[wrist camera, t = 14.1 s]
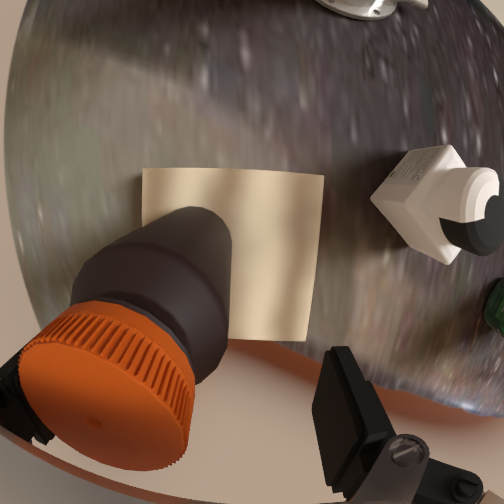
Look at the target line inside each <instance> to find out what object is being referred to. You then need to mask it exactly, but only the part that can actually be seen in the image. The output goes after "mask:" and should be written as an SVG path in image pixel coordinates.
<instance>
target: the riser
mask: <svg viewBox="0 0 504 504" xmlns="http://www.w3.org/2000/svg"><path fill="white" fill-rule="evenodd" d="M323 185H324V176H323V175H314V174H304V173H292V172H280V171H265V170H247V169H222V168H144V169H143V179H142V227H143V226H145V225H147V224H149V223H151V222H153V221H155V220H157V219H159V218H161V217H163V216H165V215H167V214H169V213H171V212H173V211H175V210H177V209H180V208H184V207H188V206H196V207H203V208H206V209H208V210H210V211H213V212H214V213H216V214H217V215H218V216H219V217H220V218H221V219H222V220H223V221H224V222H225V224H226V226H227V227H228V229H229V231H230V235H231V239H232V261H231V286H230V315H229V332H228V338H232V339H250V340H274V341H305V340H306V334H307V328H308V321H309V315H310V308H311V301H312V293H313V286H314V278H315V270H316V261H317V253H318V243H319V233H320V223H321V211H322V199H323Z"/></svg>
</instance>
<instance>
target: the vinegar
mask: <svg viewBox="0 0 504 504" xmlns="http://www.w3.org/2000/svg"><path fill="white" fill-rule="evenodd" d="M231 261H232V239H231V235H230V231H229V229H228V227H227V226H226V224H225V222H224V221H223V220H222V219H221V218H220V217H219V216H218V215H217V214H216V213H214V212H213V211H210V210H208V209H206V208H203V207H196V206H188V207H184V208H180V209H177V210H175V211H173V212H171V213H169V214H167V215H165V216H163V217H161V218H159V219H157V220H155V221H153V222H151V223H149V224H147V225H145V226H143V227H141V228H139V229H137V230H135V231H133V232H132V233H130V234H128V235H126V236H124V237H122V238H120V239H119V240H117V241H115V242H113V243H111V244H109V245H108V246H106V247H104V248H103V249H102V250H100V251H99V252H98V253H96V254H95V255H94V256H93V257H91V258H90V259H89V260H87V261H86V262H85V264H84V265H83V267H82V269H81V270H80V272H79V274H78V276H77V278H76V279H75V281H74V284H73V289H72V295H71V302H70V308H68V309H67V310H66V311H64V312H63V313H62V314H60V315H59V316H58V317H57V318H56V319H55V320H53V321H52V322H51V323H50V324H49V325H48V326H46V327H45V328H44V329H43V330H42V331H41V332H40V333H39V334H38V335H37V336H36V337H35V338H34V339H32V340H31V341H30V342H29V343H28V344H27V345H26V346H25V347H24V349H23V350H22V351H21V352H22V354H21V355H20V357H21V358H20V359H19V362H20V363H19V364H18V366H19V368H18V371H19V374H18V375H19V376H20V379H19V380H20V381H21V387H22V389H23V391H24V394H25V396H26V398H27V400H28V402H29V404H30V406H31V407H32V409H33V410H34V412H35V413H36V414H37V416H38V417H39V418H40V420H41V421H42V422H43V423H44V424H45V425H46V426H47V427H48V428H49V429H50V430H51V431H52V432H53V433H54V434H55V435H56V436H57V437H58V438H59V439H61V440H62V441H63V442H65V443H66V444H68V445H69V446H70V447H72V448H74V449H75V450H76V451H78V452H79V453H81V454H83V455H86V456H87V457H89V458H91V459H94V460H96V461H98V462H100V463H103V464H106V465H110V466H113V467H116V468H120V469H124V470H134V471H150V470H158V469H163V468H165V467H168V465H172V463H176V461H179V458H182V454H184V453H185V451H186V448H187V445H188V438H189V431H190V424H191V417H192V412H193V405H194V399H195V385H197V384H199V383H201V382H202V381H203V380H204V379H205V378H206V377H208V375H210V374H211V373H212V372H213V371H214V370H215V369H216V368H217V367H218V365H219V363H220V361H221V359H222V357H223V355H224V352H225V351H226V349H227V345H228V344H227V343H228V332H229V315H230V286H231Z"/></svg>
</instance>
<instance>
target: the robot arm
mask: <svg viewBox="0 0 504 504" xmlns="http://www.w3.org/2000/svg"><path fill="white" fill-rule="evenodd" d="M315 1H316V2H318V3H319V4H321V5H322V6H324V7H326V8H328V9H330V10H332V11H334V12H336V13H339V14H341V15H344V16H347V17H350V18H354V19H360V20H370V21H373V20H380V19H384V18H386V17H388V16H389V15H391V14H392V12H393V11H394V10H395V9H396V6H397V2H400V3H403V2H404V1H405V2H407V3H410V4H411V5H413V6H415V7H417V8H420V9H422V10H425V9H426V8H427V6H428V0H315ZM36 336H37V335H36ZM36 336H35V337H36ZM35 337H34V338H35ZM34 338H33V339H34ZM29 342H30V341H29ZM29 342H28V343H29ZM28 343H27V344H28ZM27 344H26V345H27ZM26 345H25V346H26ZM25 346H24V347H25ZM24 347H23V348H22V349H20V351H18V352H17V353H16V354H15V355H14V356H13V357H12V358H11V359H9V361H7V362H6V363H5V364H4V365H3V366H2V367H1V368H0V504H224V503H214V502H206V501H199V500H192V499H186V498H179V497H175V496H169V495H165V494H160V493H155V492H151V491H148V490H144V489H140V488H136V487H133V486H129V485H126V484H123V483H119V482H116V481H113V480H110V479H107V478H105V477H102V476H99V475H96V474H94V473H91V472H88V471H86V470H83V469H81V468H78V467H76V466H74V465H72V464H69V463H67V462H65V461H63V460H60V459H59V458H56V457H54V456H53V455H50V454H48V453H47V452H45V451H42V450H41V449H39V448H37V447H35V446H34V445H32V440H31V439H32V437H33V436H34V438H35V439H36V440H37V441H39V442H40V443H42V444H44V445H47V443H48V442H49V440H52V439H53V438H54V436H55V434H54V433H53V432H52V431H51V430H50V429H49V428H48V427H47V426H46V425H45V424H44V423H43V422H42V421H41V420H40V418H39V417H38V416H37V414H36V413H35V412H34V410H33V409H32V407H31V406H30V404H29V402H28V400H27V398H26V396H25V394H24V391H23V389H22V387H21V381H20V380H19V379H20V376H19V375H18V374H19V371H18V368H19V366H18V364H19V363H20V362H19V359H20V358H21V357H20V355H21V354H22V352H21V351H22V350H23V349H24ZM312 415H313V420H314V425H315V430H316V435H317V440H318V445H319V450H320V455H321V460H322V466H323V471H324V476H325V481H326V485H327V486H332V491H333V493H338V492H343V496H344V498H346V500H345V502H334V503H321V504H504V499H502V498H501V497H499V496H497V495H496V494H494V493H493V492H491V491H490V490H488V491H487V492H486V493H485V492H484V491H483V484H482V481H481V479H480V478H479V477H478V476H477V475H476V474H474V473H472V472H470V471H466V470H463V469H460V468H457V467H454V466H451V465H448V464H445V463H442V462H440V461H437V460H434V459H431V458H429V455H430V452H429V447H428V446H427V444H426V443H425V442H424V441H423V440H422V439H421V438H419V437H417V436H415V435H410V434H400V435H396V433H395V431H394V429H393V427H392V425H391V422H390V420H389V418H388V416H387V414H386V412H385V410H384V408H383V406H382V404H381V402H380V399H379V397H378V395H377V393H376V391H375V389H374V387H373V385H372V384H371V382H370V381H365V379H364V377H363V375H362V372H361V370H360V368H359V366H358V364H357V362H356V360H355V358H354V356H353V354H352V352H351V350H350V348H349V347H348V346H333V347H331V349H330V351H326V352H325V355H324V360H323V364H322V368H321V372H320V376H319V380H318V384H317V389H316V392H315V396H314V400H313V403H312Z"/></svg>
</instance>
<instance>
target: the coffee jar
mask: <svg viewBox="0 0 504 504" xmlns="http://www.w3.org/2000/svg"><path fill="white" fill-rule="evenodd" d="M483 315H484V319H485V321H486V322H487V324H488V325H489V326H490V327H491V328H492V329H494V330H495V331H496V332H497V333H499V334H500V335H501V336H502V337H504V278H502V279H501V280H500V281H499V282H498V283H497V284H496V285H495V287H494V288H493V290H492V291H491V293H490V295H489V297H488V299H487V302H486V305H485V308H484V313H483Z"/></svg>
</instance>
